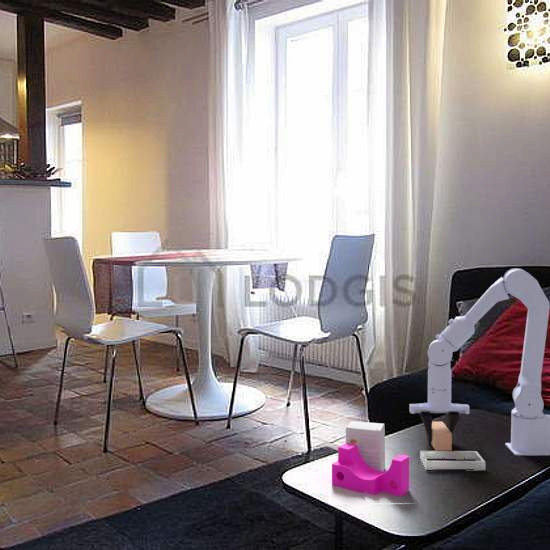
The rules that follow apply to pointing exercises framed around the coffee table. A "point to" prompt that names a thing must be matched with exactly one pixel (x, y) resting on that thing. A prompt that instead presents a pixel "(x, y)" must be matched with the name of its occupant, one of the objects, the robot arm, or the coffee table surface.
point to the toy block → (369, 473)
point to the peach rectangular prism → (441, 436)
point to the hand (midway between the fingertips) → (438, 441)
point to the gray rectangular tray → (431, 465)
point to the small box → (368, 442)
